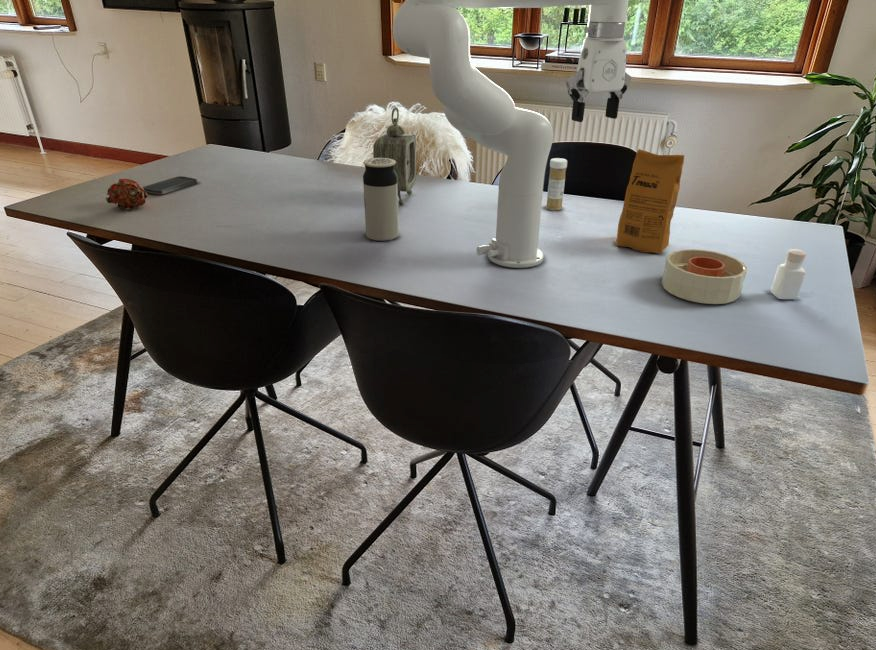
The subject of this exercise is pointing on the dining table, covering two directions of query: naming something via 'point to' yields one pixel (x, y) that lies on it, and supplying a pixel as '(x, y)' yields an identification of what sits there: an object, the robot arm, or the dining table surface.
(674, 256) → the serving bowl
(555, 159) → the sprinkles bottle
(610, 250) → the dining table surface
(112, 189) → the brown knobby oval lump
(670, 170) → the coffee package
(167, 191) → the phone
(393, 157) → the weathered lantern
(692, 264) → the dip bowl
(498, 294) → the dining table surface
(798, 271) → the pepper shaker
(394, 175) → the travel mug
